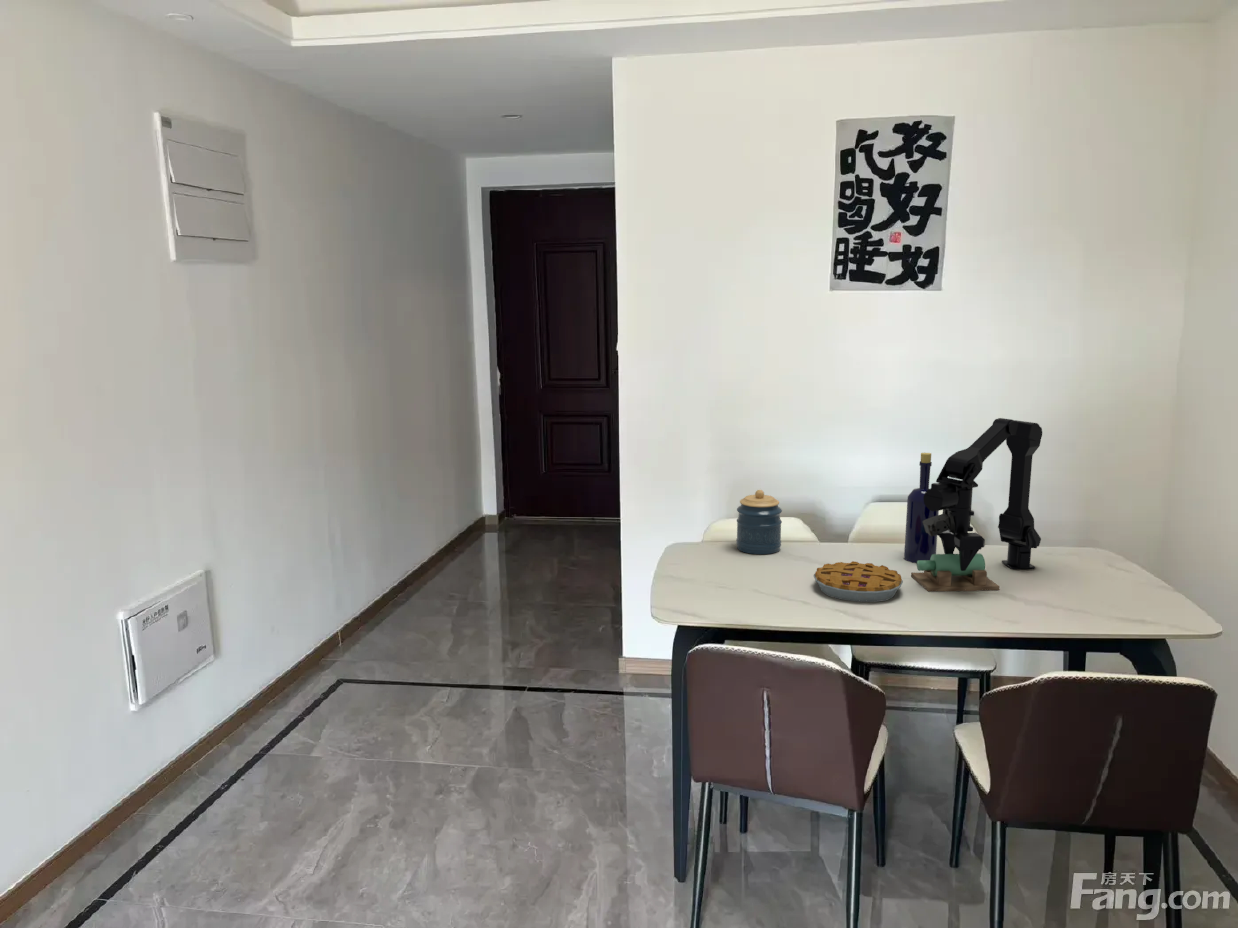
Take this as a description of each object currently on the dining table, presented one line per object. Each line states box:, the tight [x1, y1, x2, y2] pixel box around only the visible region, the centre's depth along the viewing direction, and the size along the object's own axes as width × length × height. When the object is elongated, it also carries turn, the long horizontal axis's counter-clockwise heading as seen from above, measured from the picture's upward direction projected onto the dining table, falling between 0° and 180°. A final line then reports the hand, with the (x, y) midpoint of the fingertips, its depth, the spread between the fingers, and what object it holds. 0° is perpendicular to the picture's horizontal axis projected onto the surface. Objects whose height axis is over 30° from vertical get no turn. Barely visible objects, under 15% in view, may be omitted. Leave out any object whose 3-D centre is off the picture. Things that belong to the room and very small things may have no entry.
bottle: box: [903, 452, 940, 564], centre depth 245 cm, size 9×9×30 cm
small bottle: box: [916, 552, 986, 576], centre depth 227 cm, size 16×6×6 cm, turn 92°
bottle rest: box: [910, 569, 1001, 593], centre depth 227 cm, size 18×12×4 cm, turn 92°
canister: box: [735, 489, 783, 555], centre depth 258 cm, size 13×13×18 cm
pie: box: [813, 560, 904, 603], centre depth 223 cm, size 22×22×5 cm
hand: (955, 565), depth 226 cm, fingers open, 9 cm apart
